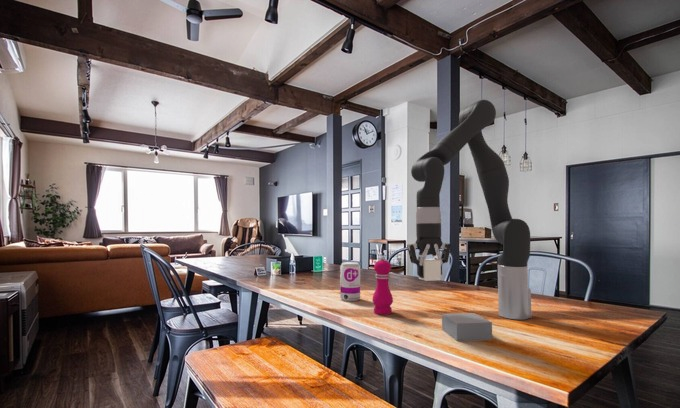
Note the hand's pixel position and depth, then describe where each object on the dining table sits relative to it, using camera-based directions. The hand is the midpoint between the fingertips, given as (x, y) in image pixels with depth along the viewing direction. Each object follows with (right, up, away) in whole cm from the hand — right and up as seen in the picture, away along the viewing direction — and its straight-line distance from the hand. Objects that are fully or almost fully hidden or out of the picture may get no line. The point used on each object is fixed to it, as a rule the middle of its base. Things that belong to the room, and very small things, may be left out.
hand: (429, 277), depth 107 cm
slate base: (+8, -15, -8) cm, 19 cm away
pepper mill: (-13, -16, +16) cm, 26 cm away
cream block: (0, -1, 0) cm, 1 cm away
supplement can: (-23, -17, +37) cm, 47 cm away
